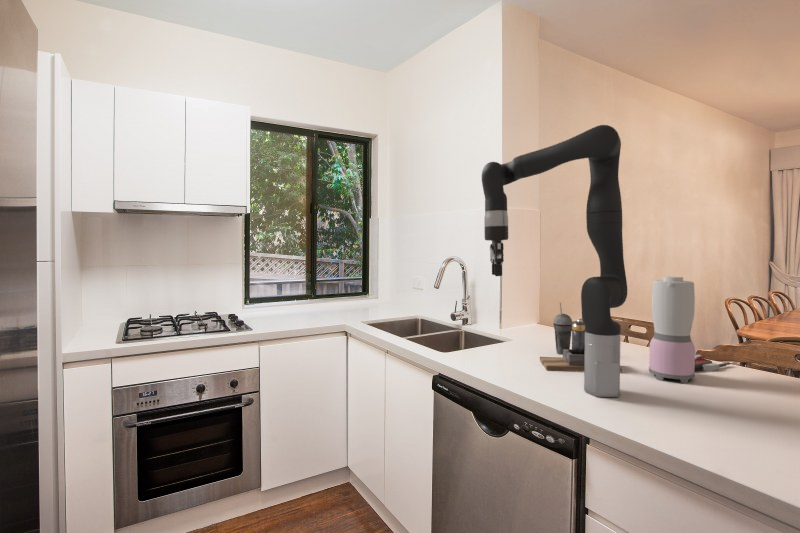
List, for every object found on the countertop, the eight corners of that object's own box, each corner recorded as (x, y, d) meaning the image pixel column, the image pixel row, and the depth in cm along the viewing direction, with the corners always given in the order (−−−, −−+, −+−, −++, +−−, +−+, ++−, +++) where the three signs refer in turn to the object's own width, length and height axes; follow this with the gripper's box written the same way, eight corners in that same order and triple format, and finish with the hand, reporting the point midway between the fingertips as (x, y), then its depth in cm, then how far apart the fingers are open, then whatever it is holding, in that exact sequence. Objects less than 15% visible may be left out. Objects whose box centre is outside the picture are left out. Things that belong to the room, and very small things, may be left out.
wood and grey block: (622, 372, 138) (622, 349, 138) (546, 370, 141) (547, 347, 141) (608, 362, 150) (609, 341, 150) (539, 360, 153) (539, 339, 153)
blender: (696, 386, 124) (699, 278, 123) (648, 379, 131) (650, 277, 129) (691, 372, 138) (693, 275, 137) (648, 367, 144) (650, 274, 143)
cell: (587, 364, 143) (588, 321, 142) (573, 363, 144) (574, 321, 143) (583, 360, 148) (584, 319, 147) (569, 360, 148) (570, 318, 147)
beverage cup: (574, 356, 159) (575, 304, 158) (554, 355, 161) (554, 303, 160) (570, 351, 166) (571, 301, 166) (551, 350, 168) (551, 301, 167)
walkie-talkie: (696, 375, 135) (733, 368, 144) (697, 362, 135) (733, 355, 143) (669, 368, 143) (705, 361, 152) (670, 356, 143) (706, 349, 151)
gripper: (511, 223, 128) (512, 276, 128) (505, 226, 142) (505, 274, 142) (486, 224, 129) (487, 276, 129) (482, 227, 143) (483, 274, 143)
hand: (496, 275), depth 136 cm, fingers open, 8 cm apart
